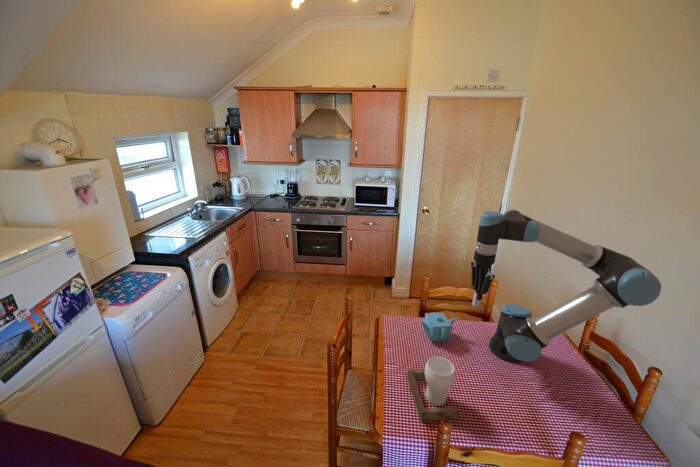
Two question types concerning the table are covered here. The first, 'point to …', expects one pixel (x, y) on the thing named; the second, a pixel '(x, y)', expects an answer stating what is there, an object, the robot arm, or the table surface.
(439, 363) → the cup
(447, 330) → the teapot
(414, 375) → the wooden u-shaped bracket
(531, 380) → the table surface
